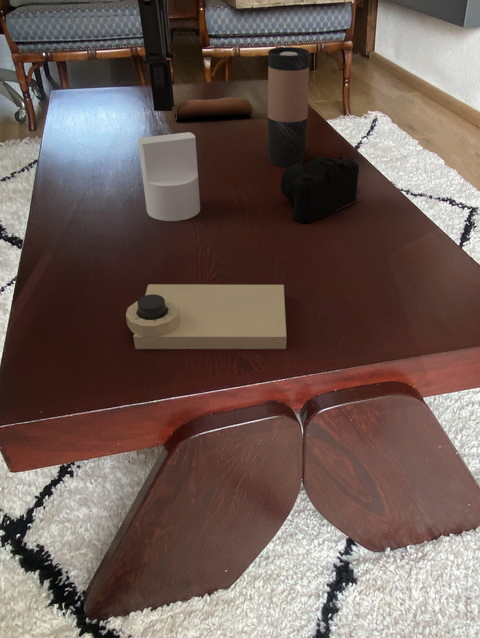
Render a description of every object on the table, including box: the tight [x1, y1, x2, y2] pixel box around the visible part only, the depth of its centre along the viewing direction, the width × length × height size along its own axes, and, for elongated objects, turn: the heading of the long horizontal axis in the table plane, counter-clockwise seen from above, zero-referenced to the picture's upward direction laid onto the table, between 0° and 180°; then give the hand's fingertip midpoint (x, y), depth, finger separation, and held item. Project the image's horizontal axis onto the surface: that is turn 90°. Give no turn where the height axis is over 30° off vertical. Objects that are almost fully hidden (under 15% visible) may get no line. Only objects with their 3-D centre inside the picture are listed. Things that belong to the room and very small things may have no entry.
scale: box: [125, 283, 287, 350], centre depth 76 cm, size 19×12×4 cm, turn 91°
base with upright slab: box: [137, 131, 201, 222], centre depth 100 cm, size 9×9×12 cm
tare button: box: [136, 294, 166, 320], centre depth 72 cm, size 3×3×2 cm
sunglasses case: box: [175, 96, 253, 121], centre depth 145 cm, size 18×7×7 cm, turn 105°
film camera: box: [279, 155, 360, 224], centre depth 103 cm, size 15×10×9 cm, turn 135°
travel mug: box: [267, 46, 310, 168], centre depth 117 cm, size 8×8×20 cm
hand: (164, 107), depth 93 cm, fingers closed
